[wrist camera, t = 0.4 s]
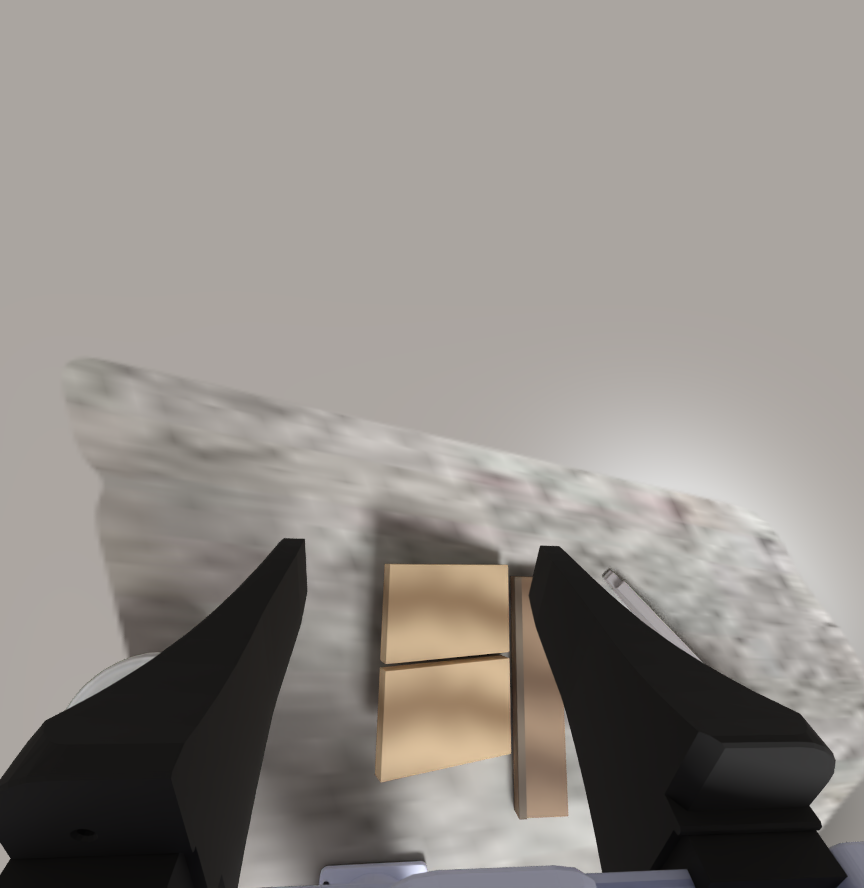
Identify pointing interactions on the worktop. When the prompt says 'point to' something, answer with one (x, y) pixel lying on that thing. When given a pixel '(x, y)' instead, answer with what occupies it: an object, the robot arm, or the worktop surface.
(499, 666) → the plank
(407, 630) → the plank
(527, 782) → the floor panel
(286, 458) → the worktop surface
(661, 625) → the caliper
